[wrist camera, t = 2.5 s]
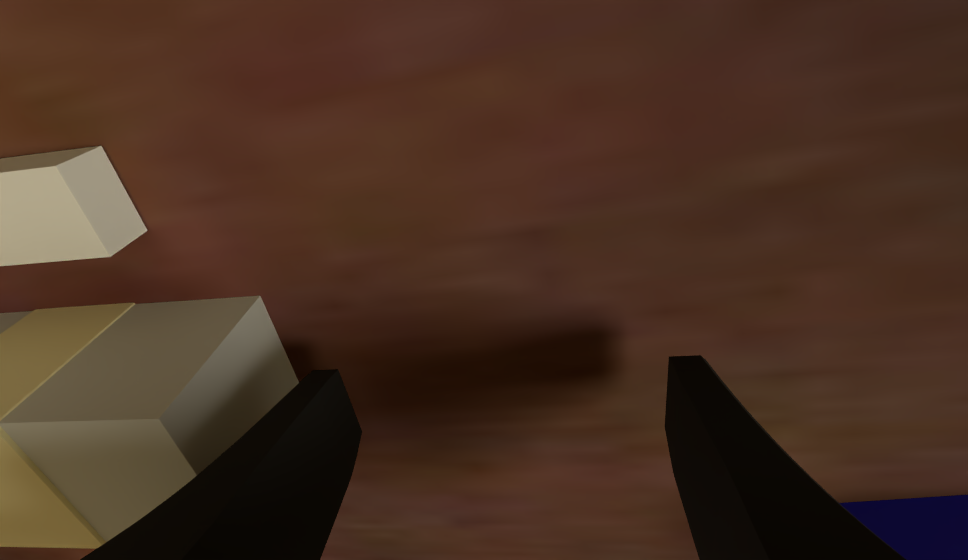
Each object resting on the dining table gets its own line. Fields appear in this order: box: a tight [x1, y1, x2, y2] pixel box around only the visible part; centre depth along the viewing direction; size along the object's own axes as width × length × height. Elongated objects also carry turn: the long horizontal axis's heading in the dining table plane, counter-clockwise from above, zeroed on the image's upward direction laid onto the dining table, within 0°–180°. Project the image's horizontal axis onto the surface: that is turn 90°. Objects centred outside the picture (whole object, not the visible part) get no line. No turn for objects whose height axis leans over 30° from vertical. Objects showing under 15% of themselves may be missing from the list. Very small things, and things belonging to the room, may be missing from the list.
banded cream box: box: [0, 296, 299, 548], centre depth 13 cm, size 4×10×4 cm, turn 99°
